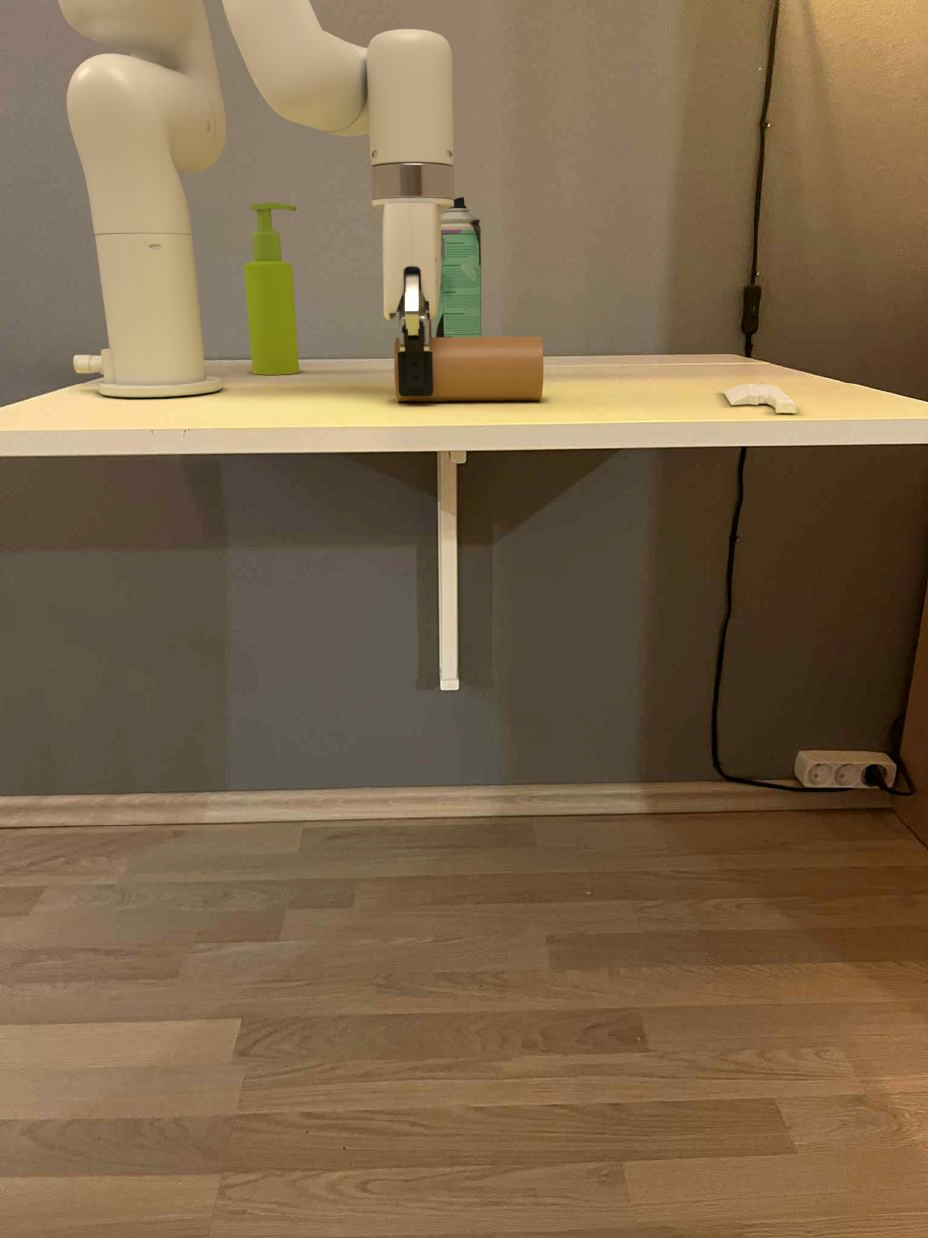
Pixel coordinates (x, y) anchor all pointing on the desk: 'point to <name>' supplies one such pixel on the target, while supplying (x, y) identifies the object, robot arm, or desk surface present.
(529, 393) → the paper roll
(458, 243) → the spray can
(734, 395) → the white curved arc piece
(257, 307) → the soap dispenser
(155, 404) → the desk surface
